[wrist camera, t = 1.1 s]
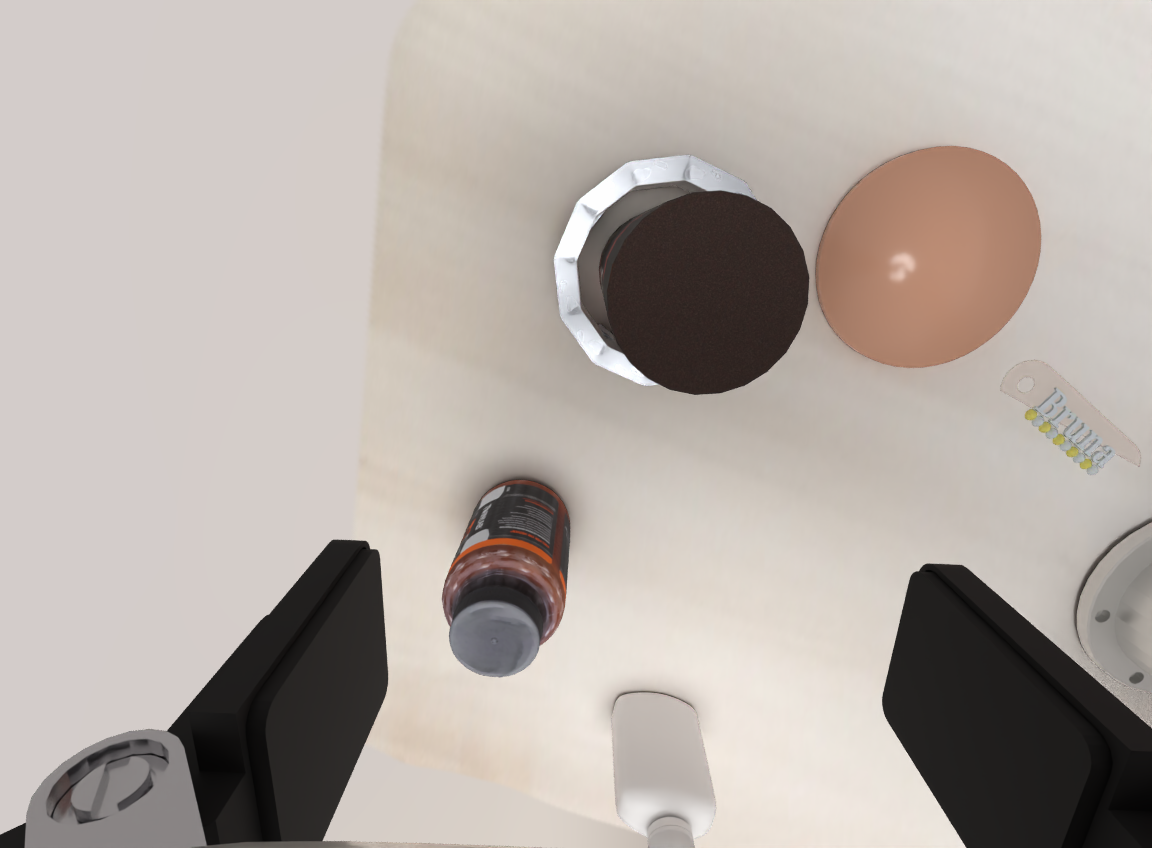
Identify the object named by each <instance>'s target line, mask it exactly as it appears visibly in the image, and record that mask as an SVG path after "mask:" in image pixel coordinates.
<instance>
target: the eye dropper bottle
mask: <svg viewBox="0 0 1152 848" xmlns="http://www.w3.org/2000/svg"><path fill="white" fill-rule="evenodd" d="M611 722H612V745H613V766H614V786H615V801H616V809H617V814H618V816H619V817H620V819H621V820H622V821H623V822H624V823H625V824H626V825H628V826H629V827H630V828H632V829H633V830H635V831H636V832H638V833H640V834H641V835H643V836H645V837H647V839H648V848H695V846H694V840H693V839H696V838H699V837H701V836H703V835H705V834H706V833H707V832H708V831H709V830H710V828H711V826H712V823H713V820H714V817H715V813H716V802H715V795H714V790H713V785H712V780H711V776H710V771H709V767H708V762H707V758H706V753H705V749H704V744H703V740H702V735H701V731H700V726H699V722H698V718H697V714H696V712H695V710H694V709H693V708H692V707H691V706H690V705H688V704H687V703H685V702H683V701H681V700H679V699H676V698H674V697H671V696H668V695H664V694H659V693H650V692H639V693H629V694H624V695H622V696H620V697H619V698H618V699H617V701H616V703H615V706H614V710H613V714H612V718H611Z"/></svg>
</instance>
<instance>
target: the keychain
mask: <svg viewBox="0 0 1152 848" xmlns="http://www.w3.org/2000/svg"><path fill="white" fill-rule="evenodd" d="M1025 377H1030V378H1032V379H1033V380H1034V386H1033V388H1032V389H1031V390H1030V391H1029V392H1026V393H1023V392H1020V391H1019V390H1018V383H1019V382H1020V380H1021V379H1023V378H1025ZM1000 391H1002V392H1004V393H1006V394H1007V395H1009V396H1011V397H1013V398H1015V399H1017V400H1018V401H1020V402H1022V403H1024V404H1026V405H1027V406H1029V407H1030V408H1033V409H1030V410H1028V411H1027V412H1026V413H1025V418H1026V419H1027V420H1032V424H1033V426H1039V431H1040V432H1042V433H1044V432H1046V437H1047V438H1049V439H1052V438H1053V443H1054V444H1055V445H1060V446H1059V447H1060V450H1062V451H1066V454H1067V456H1069V457H1073V461H1074V462H1075V463H1080V467H1081V468H1082V469H1087V474H1089V475H1094V474H1096V473H1098V471H1099V469H1098V467H1097V466H1096V465H1092V462H1091V460H1092V461H1093V462H1095V463H1097V465H1098V466H1099V467H1100V468H1103V465H1104V464H1105V463H1106V462H1107V461H1109V460H1110V459H1111V458H1112V457H1113V456H1114V455H1115V454H1116V455H1118V456H1120V457H1122V458H1124V459H1126V460H1127V461H1129V462H1131V463H1133V464H1135V465H1137V466H1138V467H1139V466H1140V461H1141V455H1140V451H1139V449H1138V448H1137V446H1136V445H1135V444H1134V443H1133V442H1132V441H1131V440H1130V439H1128V438H1127V437H1126V436H1125V435H1124V434H1123V433H1122V432H1121V431H1120V430H1119V429H1118V428H1117V427H1115V426H1114V425H1113V424H1112V423H1111V422H1110V421H1109V420H1108V419H1107V418H1106V417H1105V416H1104V415H1102V414H1101V413H1100V412H1099V411H1098V410H1097V409H1096V408H1095V407H1094V406H1093V405H1092V404H1091V403H1089V402H1088V401H1087V400H1086V399H1085V398H1084V397H1083V396H1082V395H1081V394H1080V393H1079V392H1078V391H1076V390H1075V389H1074V388H1073V387H1072V386H1071V385H1070V384H1069V383H1068V382H1067V381H1066V380H1065V379H1064V378H1062V377H1061V376H1060V375H1059V374H1058V373H1057V372H1056V371H1055V370H1054V369H1053V368H1052V367H1051V366H1049V365H1048V364H1046V363H1044V362H1042V361H1037V360H1031V361H1025V362H1022V363H1020V364H1017V365H1016V366H1015V367H1013V368H1012V369H1011V370H1010V371H1009V372H1008V373H1007V374H1006V376H1005V377H1004V379H1003V381H1002V384H1001V388H1000ZM1034 409H1035V410H1036V411H1038V412H1039V413H1040V414H1041V415H1043V416H1045V417H1048V418H1051V419H1053V420H1050V419H1049V420H1048V421H1049V422H1050V423H1051V424H1052V425H1053V426H1055V427H1056V428H1058V427H1059V426H1058V423H1060V424H1062V425H1064V426H1066V427H1067V428H1066V429H1065V430H1064V432H1063V434H1064V436H1065V437H1067V438H1070V439H1069V440H1070V441H1071V442H1072V443H1074V444H1075V445H1076V446H1077V447H1078V448H1079V449H1080V450H1082V451H1083V450H1084V447H1085V446H1086V445H1087V444H1088V443H1089V442H1090V441H1093V443H1092V444H1091V445H1090V446H1089V447H1088V448H1087V449H1086V450H1084V451H1083V452H1084V453H1085V454H1086V455H1087V456H1088V457H1090V456H1091V455H1090V454H1091V453H1092V452H1093V451H1094V450H1095V449H1096V448H1097V447H1099V446H1102V447H1103V450H1104V451H1106V452H1107V451H1108V450H1109V452H1108V453H1107V454H1105V453H1103V452H1100V451H1097V452H1095V453H1094V454H1093V455H1092V456H1091V460H1090V459H1085V455H1084V454H1083V453H1078V449H1077V448H1076V447H1072V444H1071V442H1070V441H1068V440H1065V438H1064V436H1063V435H1061V434H1058V431H1057V430H1056V429H1055V428H1051V425H1050V423H1049V422H1044V419H1043V417H1042V416H1037V412H1036V411H1035V410H1034ZM1072 431H1075V433H1074V434H1073V435H1070V434H1071V432H1072ZM1080 436H1084V437H1085V438H1084V439H1083V440H1082V441H1081V442H1080V443H1077V442H1076V440H1077V439H1078V438H1079V437H1080ZM1100 456H1103V457H1102V458H1101V459H1100V460H1097V459H1098V458H1099V457H1100Z"/></svg>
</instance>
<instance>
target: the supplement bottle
mask: <svg viewBox="0 0 1152 848" xmlns="http://www.w3.org/2000/svg"><path fill="white" fill-rule="evenodd" d="M569 544H570V520H569V515H568V512H567V510H566V507H565V505H564V504H563V502H562V501H561V499H560V498H559V497H558V496H557V495H556V494H555V493H554V492H553V491H552V490H550V489H549V488H547V487H545V486H543V485H541V484H539V483H536V482H532V481H528V480H513V481H507V482H505V483H501V484H499V485H497V486H495V487H494V488H492V489H490V490H489V491H488V492H487V493H486V494H485V495H484V496H483V497H482V498H481V500H480V501H479V503H478V505H477V506H476V508H475V510H474V512H473V515H472V517H471V520H470V521H469V524H468V527H467V529H466V532H465V534H464V537H463V539H462V541H461V544H460V546H459V548H458V551H457V553H456V555H455V558H454V560H453V562H452V565H451V568H450V570H449V573H448V575H447V578H446V580H445V584H444V588H443V594H442V603H443V609H444V613H445V617H446V619H447V622H448V624H449V625H450V632H449V641H450V646H451V648H452V651H453V653H454V655H455V657H456V658H457V659H458V660H459V661H460V662H461V663H462V664H463V665H464V666H465V667H466V668H468V669H469V670H471V671H473V672H475V673H477V674H479V675H483V676H490V677H503V676H510V675H514V674H516V673H518V672H520V671H522V670H524V669H525V668H526V667H527V666H529V665H530V664H531V662H532V661H533V660H534V658H535V657H536V655H537V653H538V650H539V646H541V645H542V644H543V643H544V642H546V641H547V640H548V639H549V638H550V637H551V636H552V635H553V634H554V632H555V631H556V629H557V627H558V626H559V624H560V621H561V619H562V616H563V612H564V608H565V599H566V589H567V573H568V561H569V560H568V559H569Z"/></svg>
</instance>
